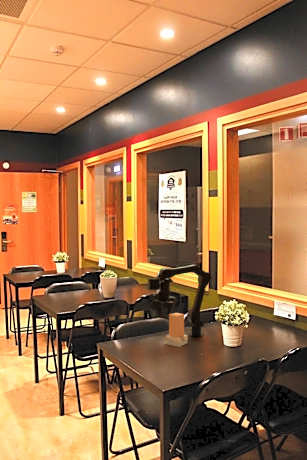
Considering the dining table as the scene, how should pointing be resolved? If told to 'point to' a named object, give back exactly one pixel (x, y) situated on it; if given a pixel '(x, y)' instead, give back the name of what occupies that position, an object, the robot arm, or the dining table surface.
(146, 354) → the dining table surface
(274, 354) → the dining table surface
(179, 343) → the tower base slab
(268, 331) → the dining table surface
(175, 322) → the orange pillar block
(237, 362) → the dining table surface
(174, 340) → the tower top slab
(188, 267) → the robot arm
